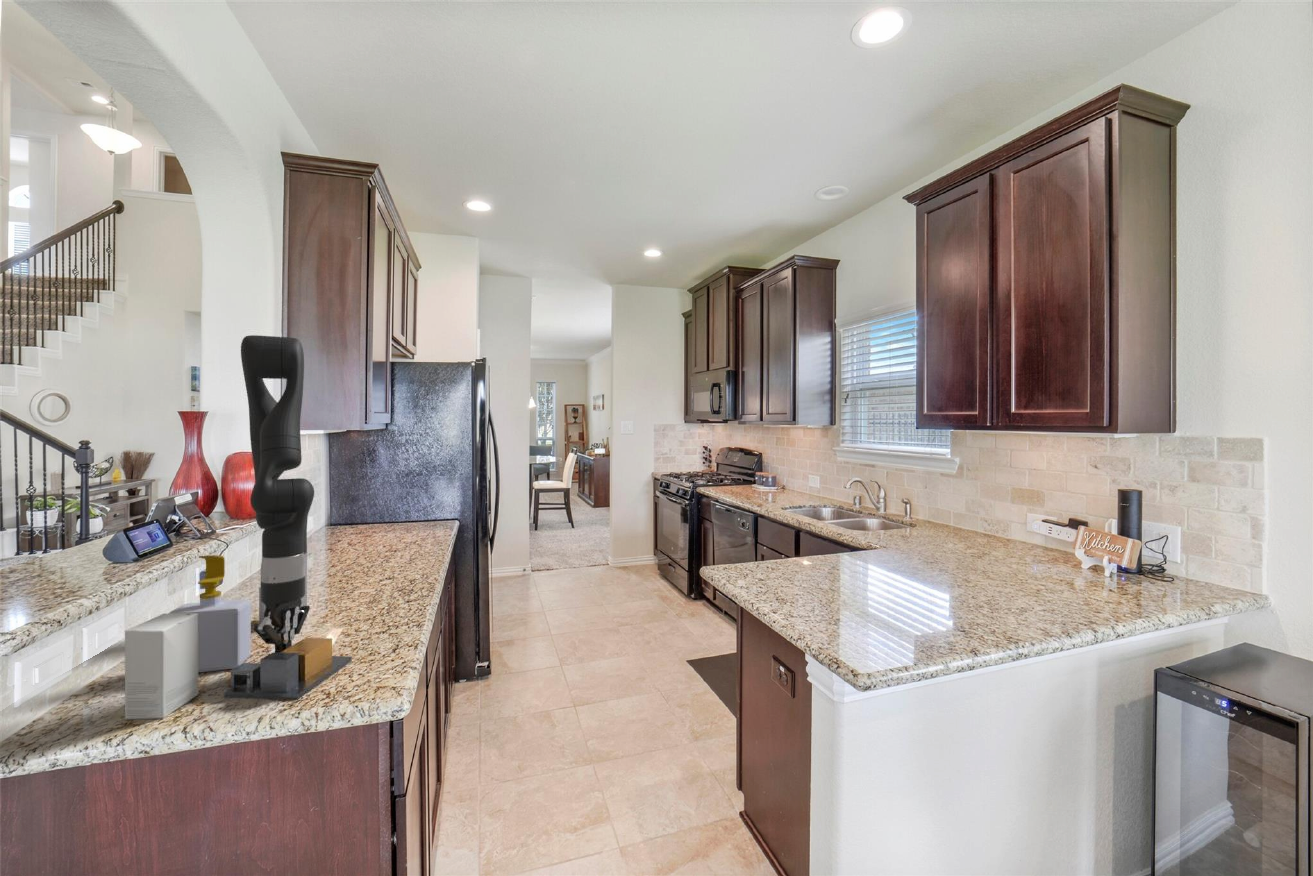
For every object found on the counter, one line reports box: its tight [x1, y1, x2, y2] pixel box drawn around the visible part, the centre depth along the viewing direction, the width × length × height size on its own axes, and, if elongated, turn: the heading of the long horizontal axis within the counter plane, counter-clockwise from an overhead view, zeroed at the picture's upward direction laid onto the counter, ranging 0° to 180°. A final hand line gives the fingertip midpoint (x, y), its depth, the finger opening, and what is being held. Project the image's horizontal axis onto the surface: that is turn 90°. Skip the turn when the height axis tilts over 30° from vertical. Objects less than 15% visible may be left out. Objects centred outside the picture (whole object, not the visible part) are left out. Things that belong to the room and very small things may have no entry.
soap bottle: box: [167, 554, 252, 673], centre depth 110 cm, size 12×7×23 cm, turn 108°
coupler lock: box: [280, 637, 333, 681], centre depth 106 cm, size 6×8×5 cm
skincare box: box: [124, 613, 199, 720], centre depth 94 cm, size 8×7×16 cm
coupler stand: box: [223, 652, 352, 700], centre depth 105 cm, size 14×16×7 cm
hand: (283, 660), depth 108 cm, fingers closed
